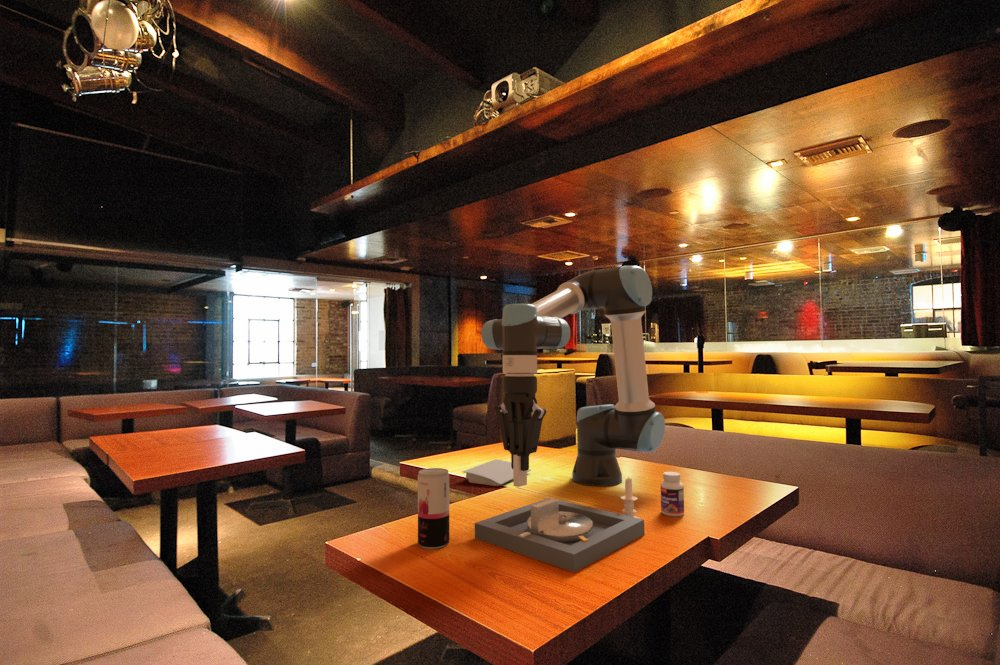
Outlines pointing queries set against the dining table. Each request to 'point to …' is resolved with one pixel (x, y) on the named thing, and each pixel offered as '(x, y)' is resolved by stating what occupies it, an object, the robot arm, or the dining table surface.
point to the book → (491, 473)
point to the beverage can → (433, 508)
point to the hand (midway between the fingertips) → (520, 485)
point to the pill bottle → (672, 495)
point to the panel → (571, 556)
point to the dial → (558, 523)
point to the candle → (629, 499)
